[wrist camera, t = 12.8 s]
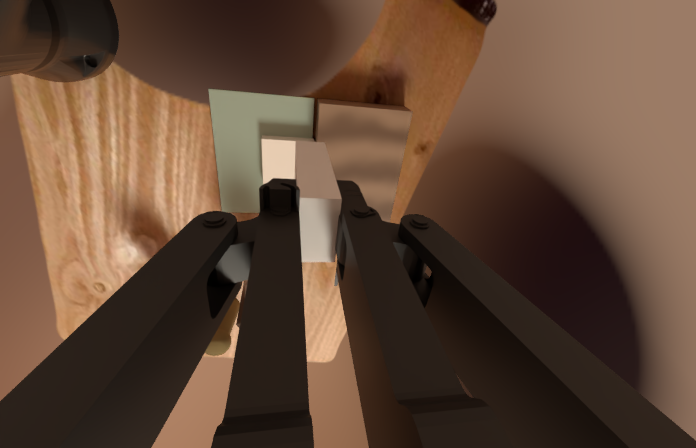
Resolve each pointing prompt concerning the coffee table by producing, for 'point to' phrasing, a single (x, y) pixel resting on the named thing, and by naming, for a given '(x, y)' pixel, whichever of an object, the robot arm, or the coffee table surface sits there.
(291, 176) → the coaster
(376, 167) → the tan flat block
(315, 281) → the coffee table surface
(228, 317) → the pepper mill
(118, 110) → the coffee table surface
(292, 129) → the mat
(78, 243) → the coffee table surface
